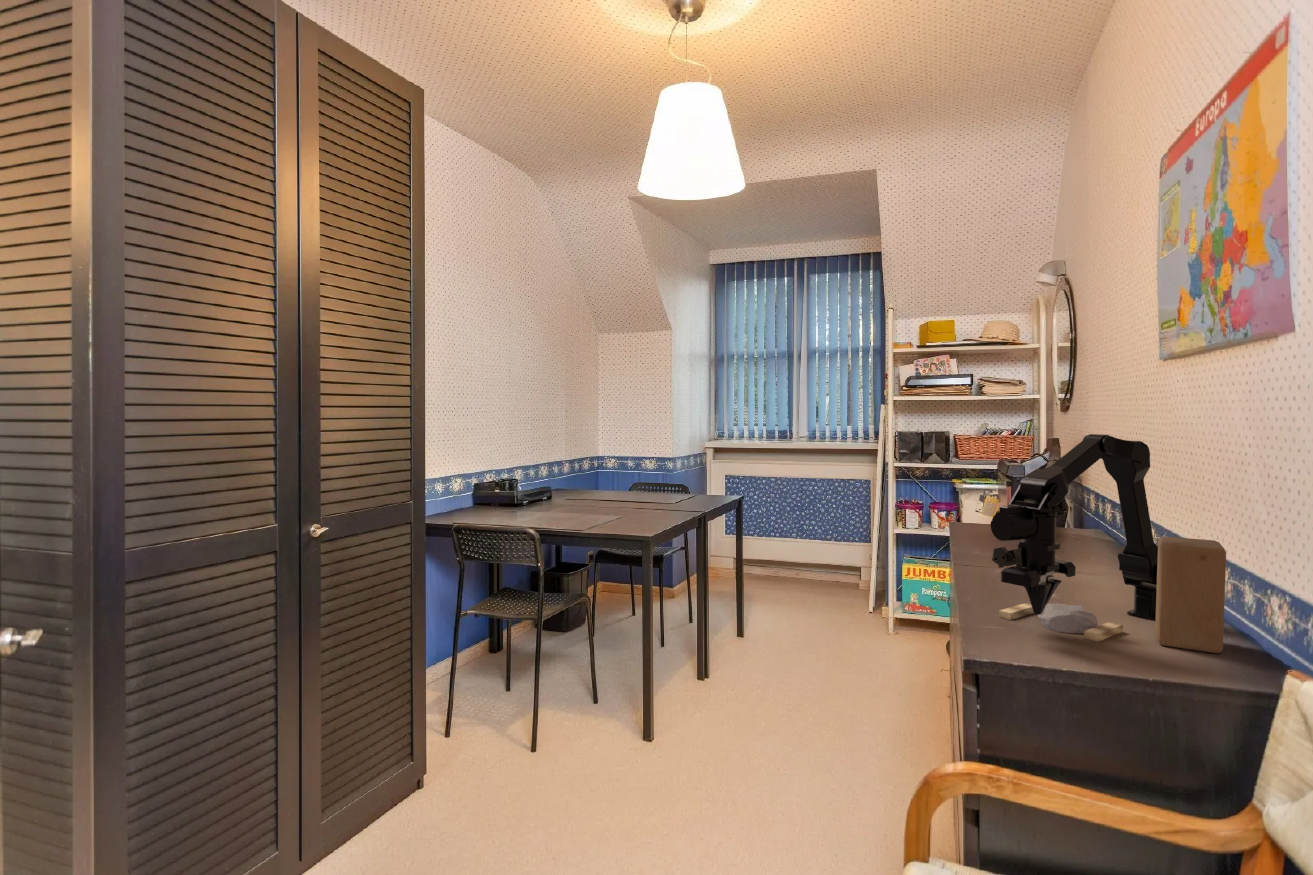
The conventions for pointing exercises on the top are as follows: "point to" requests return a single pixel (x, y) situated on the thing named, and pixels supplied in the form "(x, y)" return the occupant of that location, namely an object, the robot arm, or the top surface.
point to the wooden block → (1190, 594)
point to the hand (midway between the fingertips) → (1037, 613)
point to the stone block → (1067, 618)
